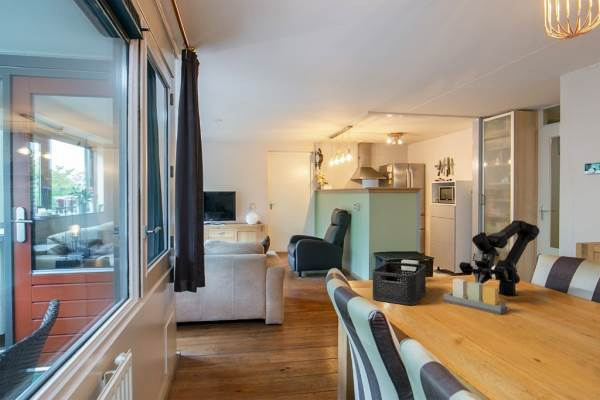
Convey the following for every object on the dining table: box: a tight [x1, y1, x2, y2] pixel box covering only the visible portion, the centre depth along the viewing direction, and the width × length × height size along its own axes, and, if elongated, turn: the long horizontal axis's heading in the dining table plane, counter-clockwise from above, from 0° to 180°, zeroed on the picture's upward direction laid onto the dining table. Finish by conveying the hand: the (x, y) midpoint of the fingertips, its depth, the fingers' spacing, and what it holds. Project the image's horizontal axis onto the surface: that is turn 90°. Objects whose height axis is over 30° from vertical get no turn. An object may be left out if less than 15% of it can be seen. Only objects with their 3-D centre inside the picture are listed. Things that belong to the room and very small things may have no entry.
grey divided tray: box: [443, 291, 509, 316], centre depth 146 cm, size 8×23×3 cm, turn 41°
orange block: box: [482, 285, 499, 306], centre depth 140 cm, size 4×4×8 cm
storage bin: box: [372, 261, 427, 306], centre depth 162 cm, size 29×19×13 cm
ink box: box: [400, 259, 420, 275], centre depth 187 cm, size 9×5×12 cm, turn 62°
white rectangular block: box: [452, 277, 468, 298], centre depth 152 cm, size 4×4×8 cm
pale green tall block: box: [467, 281, 483, 301], centre depth 146 cm, size 4×4×8 cm
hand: (477, 286), depth 148 cm, fingers closed, pressing on pale green tall block
